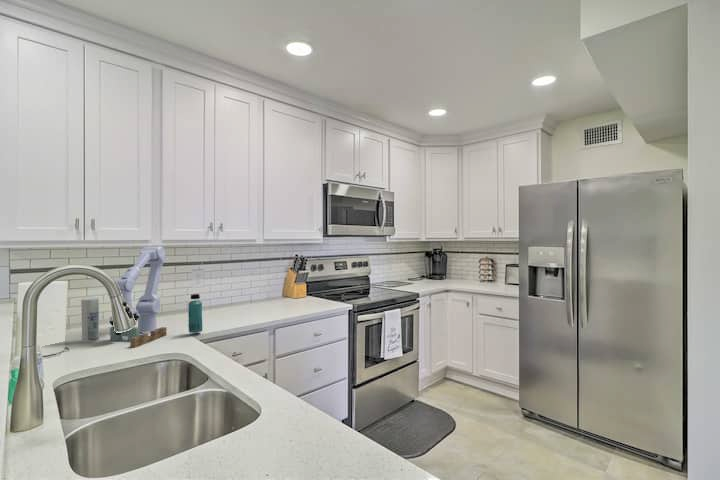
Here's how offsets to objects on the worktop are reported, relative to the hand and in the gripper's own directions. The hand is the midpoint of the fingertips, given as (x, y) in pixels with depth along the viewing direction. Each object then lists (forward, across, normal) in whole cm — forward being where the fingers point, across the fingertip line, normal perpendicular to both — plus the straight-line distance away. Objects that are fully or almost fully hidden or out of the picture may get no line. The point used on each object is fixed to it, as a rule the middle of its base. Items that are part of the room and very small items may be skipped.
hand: (124, 332), depth 171 cm
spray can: (+4, +3, -15) cm, 16 cm away
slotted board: (+3, 0, +13) cm, 13 cm away
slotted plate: (+3, 0, 0) cm, 3 cm away
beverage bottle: (+4, -14, +28) cm, 31 cm away
